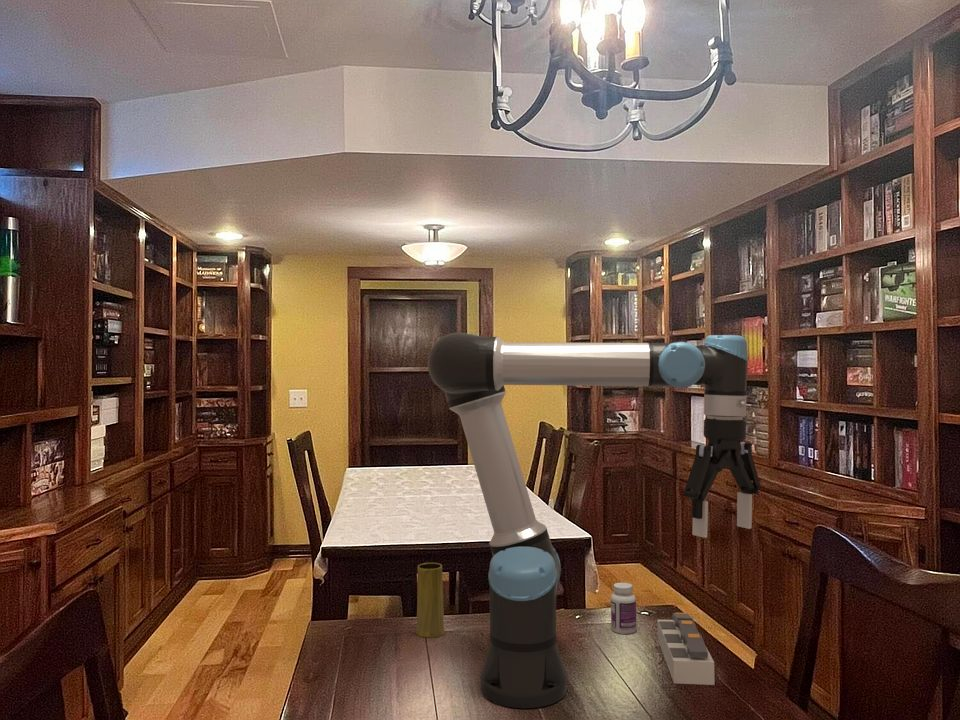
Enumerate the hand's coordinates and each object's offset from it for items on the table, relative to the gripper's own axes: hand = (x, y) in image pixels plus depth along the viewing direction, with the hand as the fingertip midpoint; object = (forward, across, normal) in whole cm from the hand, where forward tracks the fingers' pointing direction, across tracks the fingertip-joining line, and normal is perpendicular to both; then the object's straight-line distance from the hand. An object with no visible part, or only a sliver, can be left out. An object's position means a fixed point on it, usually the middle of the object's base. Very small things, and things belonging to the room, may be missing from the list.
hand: (722, 531), depth 134 cm
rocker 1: (+20, +3, +11) cm, 23 cm away
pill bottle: (+26, 0, +24) cm, 36 cm away
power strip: (+26, -2, +6) cm, 26 cm away
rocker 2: (+20, -2, +6) cm, 21 cm away
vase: (+27, -33, +48) cm, 65 cm away
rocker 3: (+20, -6, +1) cm, 21 cm away
